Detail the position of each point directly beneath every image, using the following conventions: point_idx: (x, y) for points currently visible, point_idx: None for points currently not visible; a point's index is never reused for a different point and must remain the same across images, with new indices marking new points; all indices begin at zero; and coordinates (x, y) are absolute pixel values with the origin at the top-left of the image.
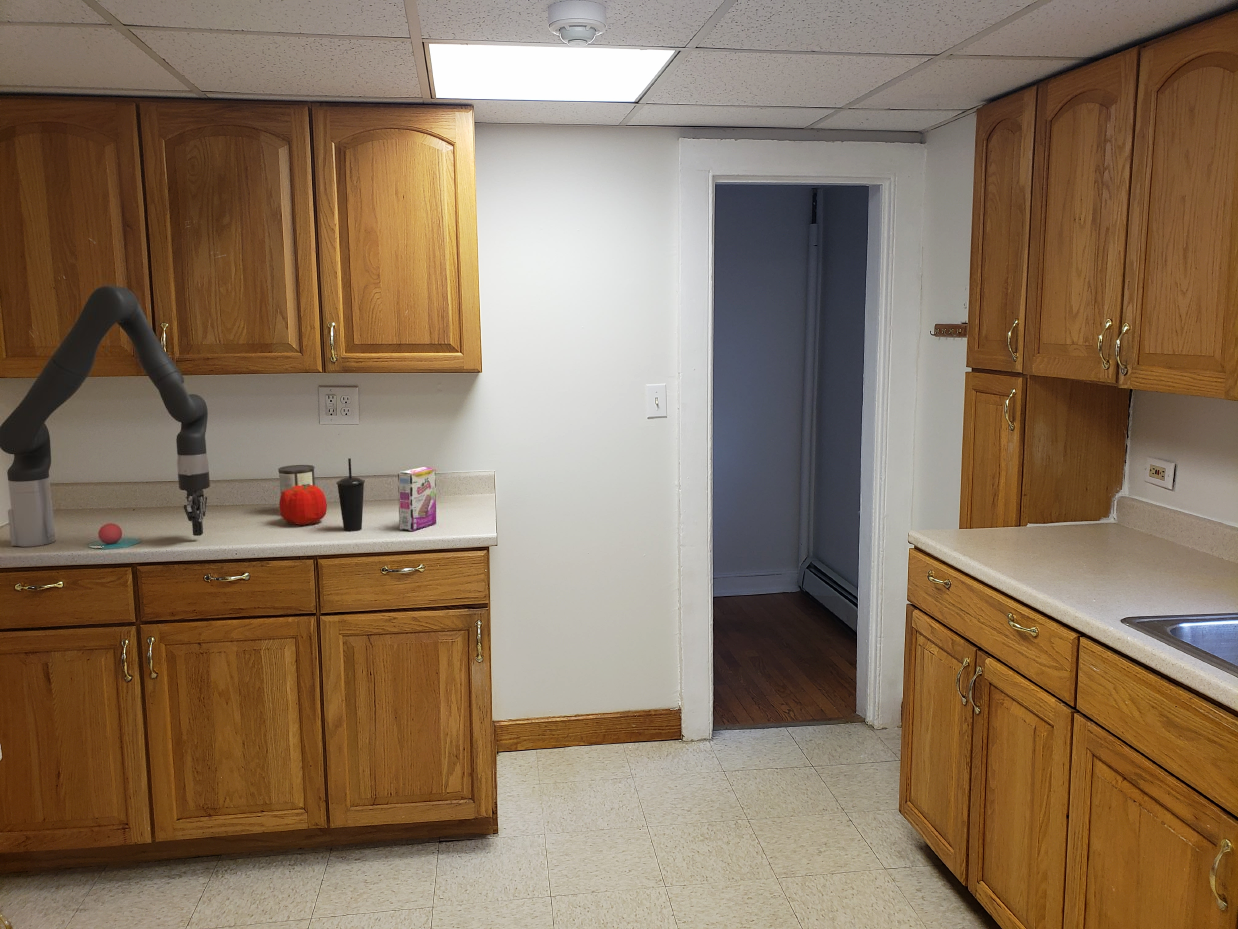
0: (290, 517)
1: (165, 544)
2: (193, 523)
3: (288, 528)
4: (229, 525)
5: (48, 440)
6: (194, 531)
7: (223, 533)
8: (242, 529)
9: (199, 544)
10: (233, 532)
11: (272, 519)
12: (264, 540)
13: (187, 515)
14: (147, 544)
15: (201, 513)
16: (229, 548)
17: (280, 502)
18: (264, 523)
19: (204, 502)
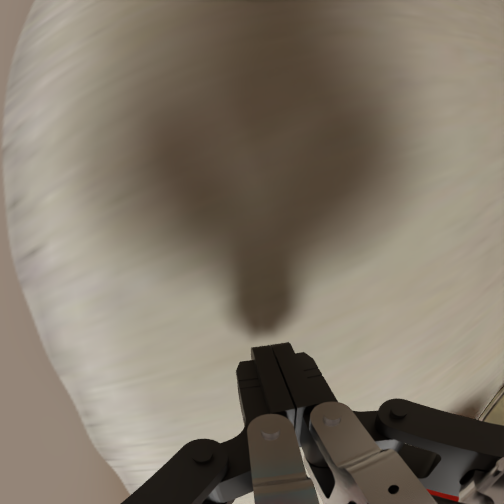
0: None
1: (173, 171)
2: (246, 423)
3: None
4: (489, 324)
5: None
6: (238, 379)
7: (391, 375)
8: (423, 397)
9: (170, 374)
10: (392, 398)
11: (486, 392)
12: (237, 500)
13: (132, 500)
14: (190, 52)
15: (321, 494)
16: (120, 466)
17: None
18: (461, 403)
19: (455, 494)
